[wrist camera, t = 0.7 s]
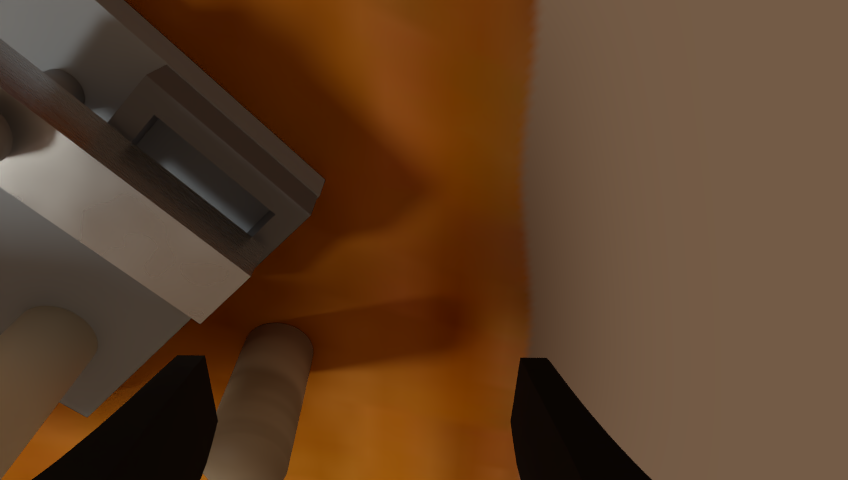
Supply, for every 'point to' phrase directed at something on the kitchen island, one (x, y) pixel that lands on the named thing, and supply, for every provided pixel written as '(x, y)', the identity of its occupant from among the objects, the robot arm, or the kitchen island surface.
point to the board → (82, 267)
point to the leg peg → (261, 406)
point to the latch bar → (116, 195)
